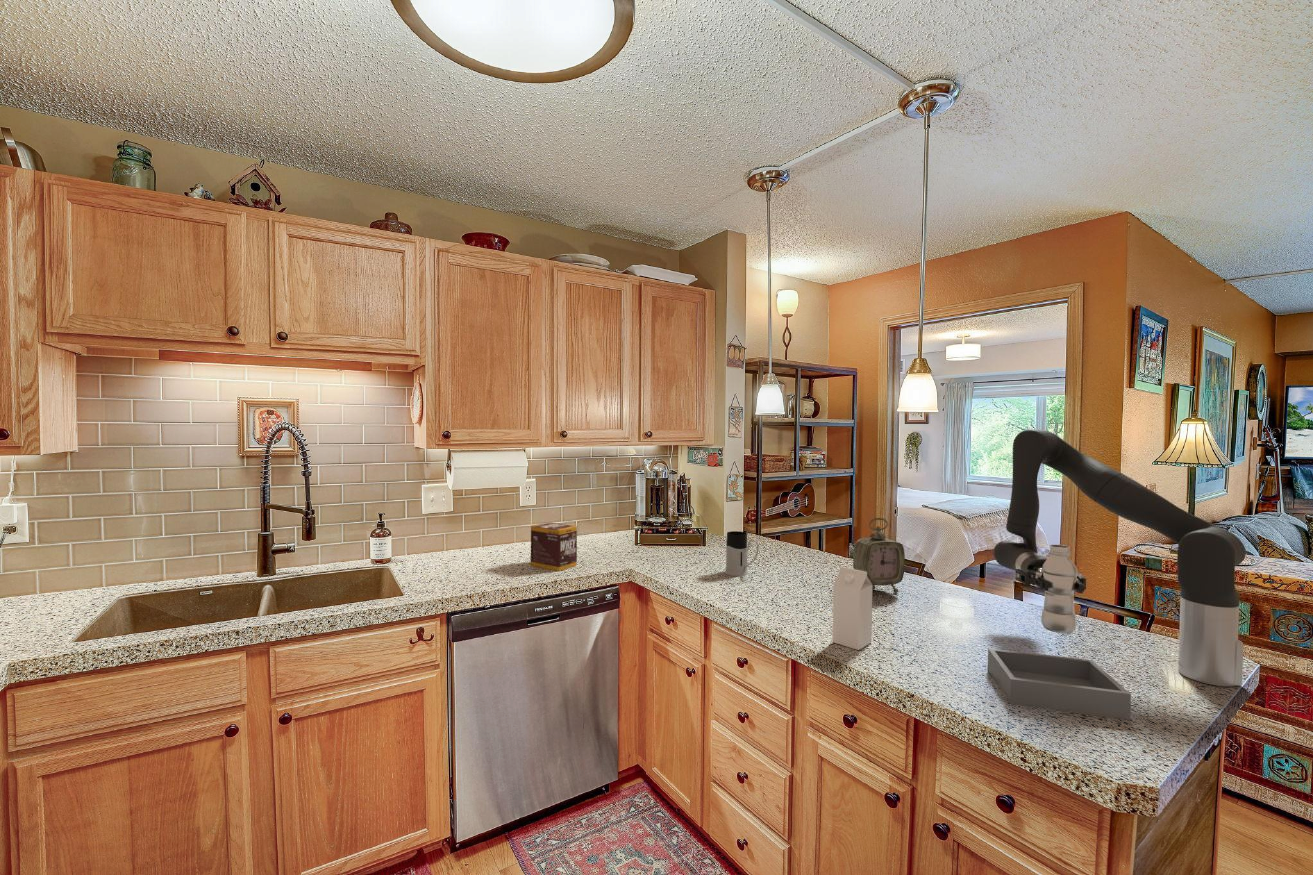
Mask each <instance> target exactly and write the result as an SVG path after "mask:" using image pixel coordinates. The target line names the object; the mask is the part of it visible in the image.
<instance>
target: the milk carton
mask: <svg viewBox="0 0 1313 875" xmlns="http://www.w3.org/2000/svg"><path fill="white" fill-rule="evenodd" d="M832 586H833V588H832V589H833V593H832V594H833V595H832V643H834V644H837V645H841V646H844V647H847V648H850V649H854V650H857V651H860V650H861V649H863V648H864V647H866V646H868V645H870V644H871V643H872V637H873V636H872V632H873V631H872V626H873V625H872V623H873V622H872V620H873V590H872V583H871V582H870V580H869V579H868V577H867V572H865V571H860V570H855V569H854V568H849V567H844V566H839V571H838V574H837V576H836V578H835V580H834V582H833V585H832Z"/></svg>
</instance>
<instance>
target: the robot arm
mask: <svg viewBox="0 0 1313 875" xmlns="http://www.w3.org/2000/svg"><path fill="white" fill-rule="evenodd" d="M1042 464H1043V465H1045V466H1047V467H1049V468H1051V469H1052V470H1053V469H1054V470H1055V471H1057V473H1060V474H1062V475H1064V476H1065V477H1067V478H1068V479H1069V480H1070V481H1072V483H1073V484H1074V485H1075V486H1076V487H1077V488H1078V489H1079V491H1080V492H1082V494H1084V495H1085V496H1086V497H1088V498H1089V499H1090V500H1092V501H1093V502H1094V503H1097V504H1098V505H1099V506H1100V507H1103V508H1104V509H1106V510H1107V511H1109V512H1110V513H1113V514H1115V515H1116V516H1118V517H1121V518H1123V519H1125V520H1127V521H1130V522H1133V523H1135V524H1138V525H1140V526H1143V527H1144V528H1148V529H1151V530H1152V531H1155V532H1157V533H1158V534H1159V533H1160V534H1161V535H1163V536H1165V537H1166V538H1168V539H1169V540H1171V541H1172V542H1174V543H1175V544H1177V545H1178V547H1177V558H1176V561H1177V568H1176V570H1177V571H1176V572H1177V583H1178V587H1179V590H1180V603H1179V604H1180V606H1179V607H1180V608H1179V634H1178V635H1179V636H1178V638H1179V640H1178V663H1177V666H1178V667H1177V668H1178V669H1177V671H1178V672H1179V674H1181V675H1182V676H1184V677H1186V678H1189V679H1191V680H1193V681H1197V682H1200V683H1204V684H1209V685H1213V686H1218V687H1235V686H1240V687H1242V686H1243V664H1244V662H1243V661H1244V643H1243V641H1241V640H1240V639H1239V618H1240V617H1239V616H1240V614H1239V613H1240V593H1239V592H1238V591H1237V590H1236V585H1235V584H1236V582H1235V581H1236V580H1235V576H1236V574H1235V573H1236V567H1237V566H1238V565H1240V564H1241V563H1242V562H1243V561H1244V560H1245V558H1246V554H1247V552H1246V551H1247V550H1246V547H1245V545H1244V543H1243V542H1242V541H1241V540H1240V538H1239V537H1238V536H1237V535H1235V534H1234V533H1232V532H1231V531H1229V530H1226V529H1225V528H1222V527H1220V526H1218V525H1216V524H1213V523H1211V522H1209V521H1207V520H1204V519H1203V518H1200V517H1198V516H1196V515H1195V514H1192V513H1190V512H1188V511H1186V510H1184V509H1182V508H1180V507H1179V506H1177V505H1175V504H1174V503H1173V502H1171V501H1169V500H1168V499H1166V498H1164V497H1163V496H1161V495H1160V494H1158V493H1156V492H1155V491H1153V490H1151V489H1150V488H1148V487H1146V486H1145V485H1143V484H1141V483H1140V482H1138V481H1136V480H1135V479H1132V478H1131V477H1129V476H1127V475H1126V474H1124V473H1123V472H1121V471H1118V470H1116V469H1114V468H1113V467H1110V466H1108V465H1106V464H1105V463H1103V462H1101V461H1099V460H1096V459H1094V458H1092V457H1091V456H1088V455H1086V454H1084V453H1082V451H1080V450H1078V449H1076V447H1074V446H1072V445H1071V444H1069V442H1067V441H1065V440H1064V439H1063V438H1062V437H1060V436H1058V435H1057V434H1056V433H1053V432H1051V431H1049V430H1044V429H1035V428H1034V429H1033V428H1031V429H1030V428H1029V429H1025V430H1022V431H1020V432H1019V433H1018V434H1016V436H1015V437H1014V439H1013V443H1012V485H1011V494H1010V502H1009V507H1008V514H1007V519H1006V526H1005V529H1006V531H1007V532H1008V533H1010V534H1011V535H1014V536H1017V537H1021V538H1022V541H1023V542H1022V543H1021V542H1014V541H1008V540H1002V541H1001V540H1000V541H999V542H998V543H996V544H995V546H994V548H993V553H992V554H993V558H994V560H995V561H996V563H997V564H998V565H1000V566H1002V567H1003V568H1006V569H1009V570H1012V571H1015V572H1014V576H1015V577H1014V578H1015V580H1016V581H1018V582H1020V583H1021V584H1022V585H1025V586H1028V587H1029V586H1031V585H1032V586H1033V587H1035V588H1038V589H1042V590H1043V591H1044V592H1045V591H1048V589H1049V583H1048V581H1047V580H1045V579H1044V576H1043V564H1044V562H1045V561H1046V560H1047V559H1048V558H1049V557H1045V556H1044V555H1042V554H1040V553H1039V552H1038V546H1037V536H1036V534H1037V533H1036V532H1037V531H1036V530H1037V525H1038V521H1039V514H1040V500H1039V499H1040V497H1039V492H1038V476H1039V472H1040V469H1041V466H1042ZM1085 590H1087V578H1086V577H1085V576H1084V575H1083V574H1081V573H1079V572H1078V573H1077V579H1076V583H1075V590H1074V592H1076V593H1077V594H1083V593H1085Z"/></svg>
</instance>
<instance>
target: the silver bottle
mask: <svg viewBox="0 0 1313 875" xmlns="http://www.w3.org/2000/svg"><path fill="white" fill-rule="evenodd" d="M1070 550H1071V548H1070V546H1068V545H1063V544H1050V545H1049V551H1048V552H1049V554H1050V556H1048V557H1047V558H1048V559H1047V560H1046V561H1045V562H1044V564H1043V576H1044V579H1045V580H1047V581H1048V583H1049V589H1048V591H1044V598H1043V600H1044V601H1043V606H1042V607H1043V609H1042V611H1041V614H1040V618H1041V619H1040V620H1041V625H1042V626H1043V628H1044V629H1045V630H1047V631H1050V632H1052V633H1057V634H1062V635H1064V634H1065V635H1067V634H1070V635H1071V634H1073V633H1074V632H1075V631H1076V629H1077V625H1078V622H1077V618H1076V614H1075V601H1074V598H1075V595H1074V594H1075V591H1074V590H1075V583H1076V579H1077V573H1079V572H1078V569H1077V566H1076V564H1075V563H1074V562H1073V561H1072V560H1071V558H1070V556H1071V551H1070Z"/></svg>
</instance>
